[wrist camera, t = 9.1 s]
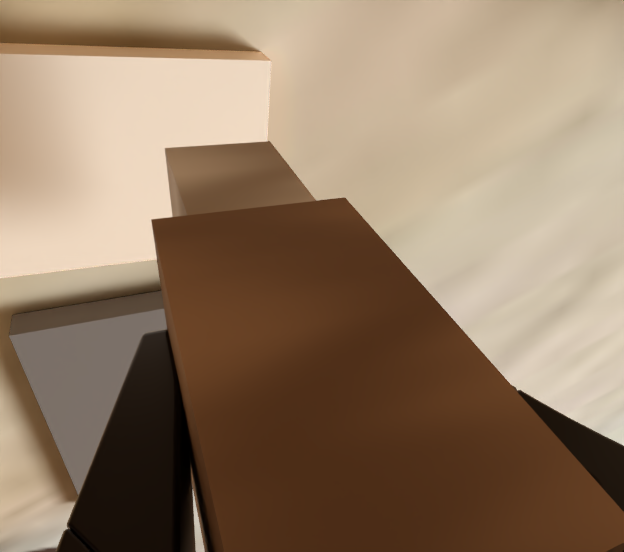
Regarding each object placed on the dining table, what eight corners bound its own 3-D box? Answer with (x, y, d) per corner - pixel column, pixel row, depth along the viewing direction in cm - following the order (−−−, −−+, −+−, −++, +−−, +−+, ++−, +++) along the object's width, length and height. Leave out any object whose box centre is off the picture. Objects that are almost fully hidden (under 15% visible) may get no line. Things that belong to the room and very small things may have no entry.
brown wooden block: (293, 139, 9) (642, 532, 4) (282, 322, 12) (461, 697, 7) (136, 149, 8) (262, 720, 3) (165, 346, 11) (254, 813, 6)
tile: (271, 60, 12) (-98, 51, 10) (261, 246, 16) (-10, 279, 13) (256, 47, 14) (-80, 35, 11) (249, 224, 17) (-3, 250, 14)
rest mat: (345, 260, 19) (355, 274, 18) (319, 433, 26) (326, 447, 26) (12, 315, 15) (8, 335, 14) (88, 500, 22) (89, 520, 22)
